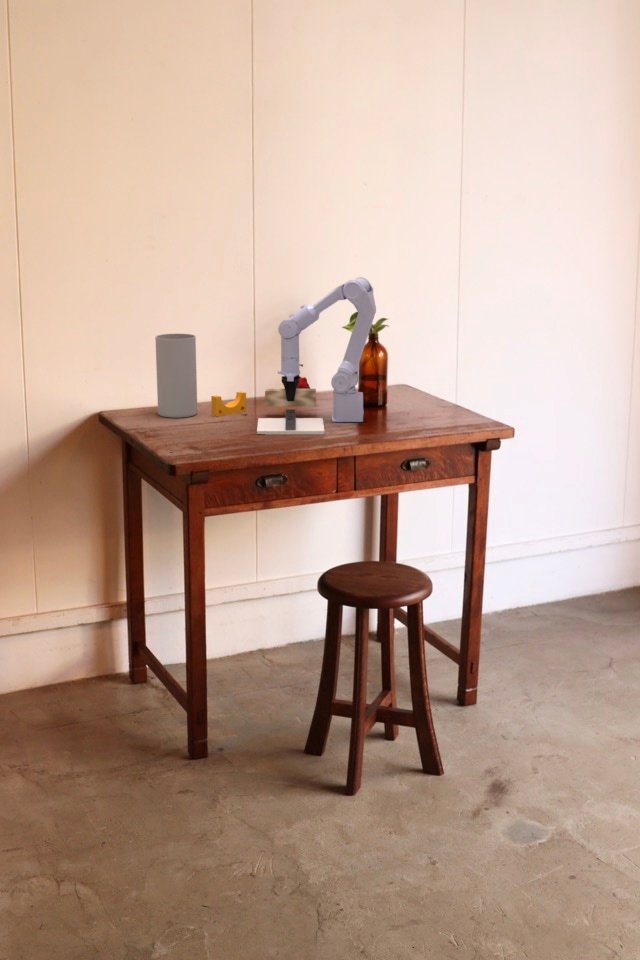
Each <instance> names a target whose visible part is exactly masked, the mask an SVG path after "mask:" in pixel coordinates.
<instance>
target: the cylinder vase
mask: <svg viewBox="0 0 640 960" xmlns="http://www.w3.org/2000/svg"><path fill="white" fill-rule="evenodd" d="M196 341H197V340H196V335H195V334H191V333H163V334H158V335H155V361H156V362H155V364H156V391H157V395H156V396H157V413H158V415H159V416H160V417H163V418H167V419H168V418H170V419H171V418H172V419H181V418H182V419H183V418H190V417H194V416H195V415H197V414H198V386H197V385H198V381H197V376H198V375H197V345H196V343H197V342H196Z"/></svg>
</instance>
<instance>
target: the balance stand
mask: <svg viewBox="0 0 640 960" xmlns="http://www.w3.org/2000/svg"><path fill="white" fill-rule="evenodd" d="M257 419H258V420H257V428H256V435H257V434H265V435H325V427H324V425H325V424H324V419H323V418H322V417H296V408H295V409H285V417H281V418H280V417H279V418H278V417H277V418H276V417H275V418H274V417H267V418H266V417H265V418H263V417H262V418H261V417H258V418H257Z"/></svg>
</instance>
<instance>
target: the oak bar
mask: <svg viewBox="0 0 640 960" xmlns="http://www.w3.org/2000/svg"><path fill="white" fill-rule="evenodd" d="M264 406H265V407H316V406H317V389H316V388H310V389H296V393H295V399H294V401H287V398H286V392H285V388H264Z"/></svg>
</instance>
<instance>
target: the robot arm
mask: <svg viewBox="0 0 640 960" xmlns="http://www.w3.org/2000/svg"><path fill="white" fill-rule="evenodd" d="M346 300H348V302H350V303H351V304H352V305H353V306H354V308H355V309H356V311H357V317H356V319H355V321H354V326H353V329H352V331H351V334H350V337H349V341H348V344H347V347H346V350H345V352H344V356H343V359H342V362H341V363H340V365H339V366H338V369H337V371H336V373H335V374H334V375H333V376H332V378H331V382H330V383H331V387H332V389H333V390H332V391H333V393H332V394H333V397H332V398H333V402H332V403H333V407H332V408H333V409H332V411H333V413H332V415H331V422H332V423H362V422H364V413H365V411H364V392H362V391H358V390H357V388H356V386H357V385H358V382H359V372H360V361H361V359H362V355H363V352H364V348H365V346H366V342H367V340H368V337H369V334H370V330H371V329H372V325H373V322H374V319H375V315H376V312H377V305H376V300H375V297H374V287H373V286H372V284H371V283H370V281H369V280H368V279H367V278H365V277H364V276H363V277H361V276H359V277H356V278H355V279H350V280H348V281H346V282H345V283H342V284H341V285H338V286H336V287H335V288H333V289H332V290H331V291H330V292H328V293H327V294H326V295H324V296H323V297H322V298H320V299H319V300H318V301H317V302H315V303H314V304H311V303H308V304H302V305H301V306H300V307H299V310H298V311H296V312H295V313H290V314H289V316H288V317H289V318H288V319H283V320H282V321H281V322H280V323H279V325H278V329H277V330H278V334H279V336H280V363H281V364H280V366H281V370H277V374H278V375H282V376H281V383H282V385H283V387H284V388H283V389H285V392H286V398H287V401H294V399H295V393H296V388H297V385H298V383H299V380H298V379H299V376H300V374H301V370H300V366H299V364H300V334H301V333H302V331H304V330H306V329H307V328H308V327H310V326H311V325H313V324H314V323H315V322H317V321H318V320H319V319H320V315H321V313H322V312H323V311H326V309H327V310H328V308H330V307H331V306H332V305H335V304H336V303H337V302H339V301H346Z"/></svg>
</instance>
